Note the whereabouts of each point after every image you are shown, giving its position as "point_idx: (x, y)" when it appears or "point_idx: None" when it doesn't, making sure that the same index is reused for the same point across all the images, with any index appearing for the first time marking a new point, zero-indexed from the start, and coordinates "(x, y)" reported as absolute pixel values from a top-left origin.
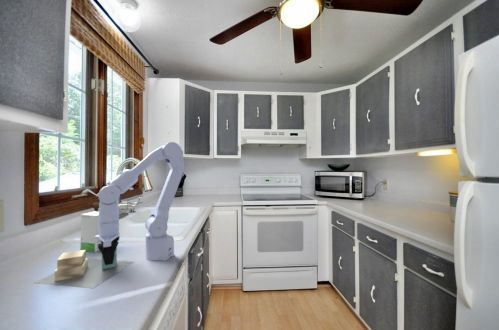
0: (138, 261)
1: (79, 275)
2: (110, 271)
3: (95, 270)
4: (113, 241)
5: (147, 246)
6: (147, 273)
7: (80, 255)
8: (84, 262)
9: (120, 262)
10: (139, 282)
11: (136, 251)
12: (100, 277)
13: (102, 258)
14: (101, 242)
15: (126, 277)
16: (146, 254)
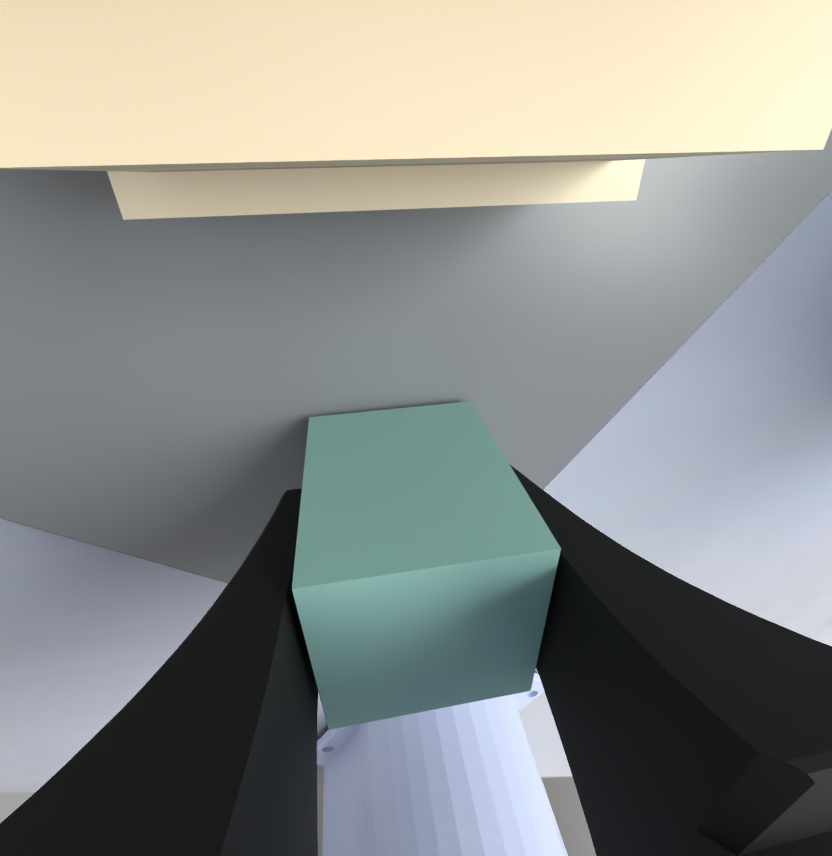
0: None
1: None
2: (232, 504)
3: (334, 337)
4: (613, 822)
5: (417, 851)
6: None
7: (60, 63)
8: (358, 186)
9: None
10: (8, 694)
11: (700, 571)
12: (69, 444)
13: (299, 527)
14: (711, 714)
15: (131, 607)
16: (422, 734)
